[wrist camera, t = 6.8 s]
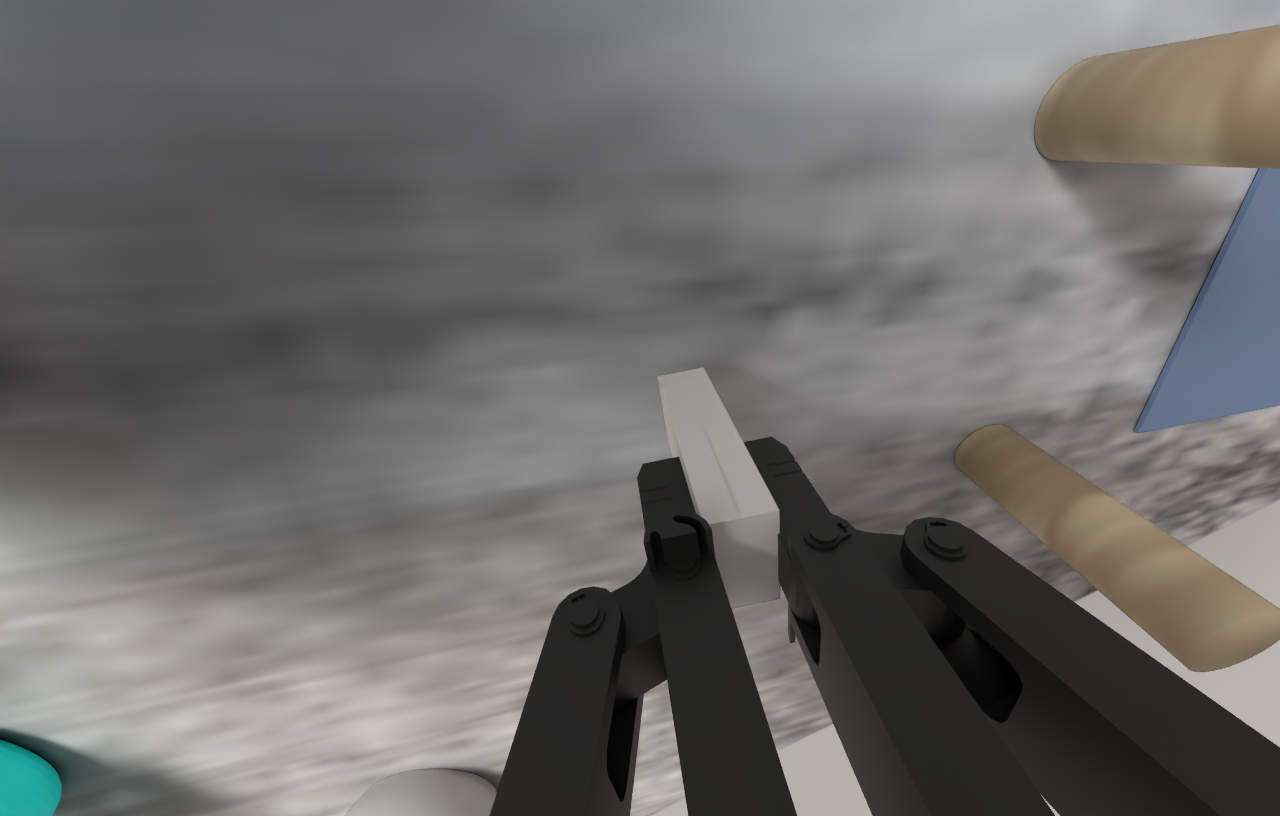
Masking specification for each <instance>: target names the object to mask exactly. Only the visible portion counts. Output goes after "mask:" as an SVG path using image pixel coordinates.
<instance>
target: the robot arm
mask: <svg viewBox="0 0 1280 816" xmlns="http://www.w3.org/2000/svg"><path fill="white" fill-rule="evenodd" d="M657 377H658V383H659V389H660V395H661V401H662V407H663V413H664V419H665V425H666V431H667V437H668V443H669V447H670V451H671V454H672V458H669V459H664V460H659V461H654V462H649V463H644V464H643V465H642V467H641V469H640V472H639V474H638V477H637V480H638V486H639V492H640V499H641V505H642V512H643V518H644V525H645V534H644V546H645V551H646V555H647V563H646V565H645V567H644V569H643V570H642V572H641V573H640V574H639V575H638V576H637V577H636V578H635V579H634V580H632V581H631V582H629V583H628V584H626V585H625V586H623V587H621V588H619V589H617V590H615V591H613V592H609V591H608V590H607V589H604V588H599V587H588V588H582V589H579V590H577V591H575V592H573V593H571V594H569V595H568V596H567V597H566V598H565V599H564V600H563V601H562V602H561V603H560V604H559V605H558V607H557V609H556V611H555V613H554V615H553V617H552V620H551V623H550V626H549V629H548V633H547V636H546V639H545V642H544V645H543V648H542V652H541V655H540V658H539V661H538V664H537V667H536V670H535V674H534V677H533V680H532V683H531V686H530V689H529V693H528V696H527V699H526V702H525V705H524V708H523V712H522V715H521V718H520V721H519V724H518V727H517V730H516V734H515V737H514V740H513V743H512V746H511V749H510V753H509V756H508V759H507V762H506V765H505V768H504V772H503V775H502V778H501V781H500V784H499V787H498V791H497V794H496V797H495V800H494V803H493V806H492V809H491V813H490V816H630V809H631V801H632V792H633V783H634V775H635V766H636V757H637V749H638V740H639V731H640V723H641V714H642V705H643V697H644V693H646V692H647V691H649V690H650V689H652V688H654V687H655V686H657V685H659V684H660V683H662V682H663V681H665V680H667V681H668V688H669V694H670V701H671V707H672V713H673V720H674V726H675V733H676V739H677V745H678V752H679V758H680V765H681V771H682V778H683V784H684V790H685V797H686V803H687V809H688V816H797V814H796V811H795V807H794V804H793V801H792V798H791V795H790V791H789V788H788V785H787V782H786V779H785V776H784V773H783V770H782V766H781V763H780V760H779V757H778V754H777V751H776V747H775V744H774V741H773V738H772V735H771V732H770V729H769V725H768V722H767V719H766V716H765V713H764V710H763V707H762V703H761V700H760V697H759V694H758V691H757V688H756V685H755V681H754V678H753V675H752V672H751V669H750V666H749V663H748V659H747V656H746V653H745V650H744V647H743V644H742V640H741V637H740V634H739V631H738V628H737V625H736V622H735V618H734V615H733V612H732V608H737V607H742V606H746V605H751V604H756V603H761V602H766V601H771V600H776V599H780V585H781V587H782V589H783V591H784V594H785V596H786V598H787V600H788V634H789V639H790V643H793V642H795V634H796V637H797V639H798V641H799V644H800V646H801V648H802V651H803V653H804V655H805V658H806V660H807V663H808V665H809V667H810V670H811V672H812V674H813V677H814V679H815V681H816V684H817V686H818V688H819V691H820V693H821V695H822V698H823V700H824V702H825V705H826V707H827V710H828V712H829V714H830V717H831V719H832V721H833V724H834V726H835V728H836V731H837V733H838V735H839V738H840V740H841V742H842V745H843V747H844V749H845V752H846V754H847V757H848V759H849V761H850V764H851V766H852V768H853V771H854V773H855V775H856V778H857V780H858V782H859V785H860V787H861V789H862V792H863V794H864V796H865V799H866V801H867V804H868V806H869V808H870V811H871V813H872V815H873V816H1055V815H1054V813H1053V812H1052V811H1051V809H1050V808H1049V806H1048V805H1047V803H1046V802H1045V800H1044V799H1043V797H1044V798H1045V799H1046V801H1047V802H1048V803H1049V804H1050V805H1051V806H1052V807H1053V808H1054V809H1055V810H1056V811H1057V812H1058V814H1060V816H1280V748H1279V747H1278V746H1277V745H1275V744H1274V743H1273V742H1271V741H1270V740H1268V739H1267V738H1266V737H1264V736H1263V735H1261V734H1260V733H1258V732H1257V731H1256V730H1254V729H1253V728H1251V727H1250V726H1248V725H1247V724H1246V723H1244V722H1243V721H1241V720H1240V719H1239V718H1237V717H1236V716H1234V715H1233V714H1232V713H1230V712H1229V711H1227V710H1226V709H1224V708H1223V707H1222V706H1220V705H1219V704H1217V703H1216V702H1215V701H1213V700H1212V699H1210V698H1209V697H1207V696H1206V695H1205V694H1203V693H1202V692H1200V691H1199V690H1197V689H1196V688H1195V687H1193V686H1192V685H1191V684H1189V683H1188V682H1186V681H1185V680H1183V679H1182V678H1181V677H1179V676H1178V675H1176V674H1175V673H1174V672H1172V671H1171V670H1169V669H1168V668H1166V667H1165V666H1163V665H1162V664H1161V663H1159V662H1158V661H1156V660H1155V659H1154V658H1152V657H1151V656H1149V655H1148V654H1147V653H1145V652H1144V651H1142V650H1141V649H1139V648H1138V647H1137V646H1135V645H1134V644H1132V643H1131V642H1130V641H1128V640H1127V639H1125V638H1124V637H1123V636H1121V635H1120V634H1118V633H1117V632H1115V631H1114V630H1113V629H1111V628H1110V627H1108V626H1107V625H1106V624H1104V623H1103V622H1101V621H1100V620H1098V619H1097V618H1096V617H1094V616H1093V615H1091V614H1090V613H1089V612H1087V611H1086V610H1084V609H1083V608H1081V607H1080V606H1079V605H1077V604H1076V603H1074V602H1073V601H1072V600H1070V599H1069V598H1067V597H1066V596H1065V595H1063V594H1062V593H1060V592H1059V591H1057V590H1056V589H1055V588H1053V587H1052V586H1050V585H1049V584H1048V583H1046V582H1045V581H1043V580H1042V579H1040V578H1039V577H1038V576H1036V575H1035V574H1033V573H1032V572H1031V571H1029V570H1028V569H1026V568H1025V567H1023V566H1022V565H1021V564H1019V563H1018V562H1016V561H1015V560H1014V559H1012V558H1011V557H1009V556H1008V555H1006V554H1005V553H1004V552H1002V551H1001V550H999V549H998V548H997V547H995V546H994V545H992V544H991V543H989V542H988V541H987V540H985V539H984V538H982V537H981V536H980V535H978V534H977V533H975V532H974V531H973V530H971V529H969V528H967V527H965V526H963V525H961V524H960V523H958V522H954V521H951V520H947V519H944V518H931V517H926V518H922V519H918V520H915V521H913V522H912V523H911V524H909V525H908V526H907V527H906V530H905V533H904V535H894V534H878V533H869V532H863V531H859V530H856V529H855V528H854V527H853V526H852V525H851V524H850V523H849V522H848V521H846V520H844V519H842V518H840V517H838V516H836V515H833V514H831V513H830V511H829V510H828V508H827V507H826V505H825V504H824V502H823V501H822V499H821V498H820V496H819V495H818V493H817V492H816V490H815V489H814V487H813V486H812V484H811V483H810V481H809V480H808V478H807V477H806V475H805V474H804V472H802V469H801V468H800V466H799V465H798V463H797V462H795V459H794V457H793V456H792V454H791V453H790V451H789V450H788V448H787V447H786V446H785V445H783V444H782V443H780V442H779V441H777V440H775V439H774V438H772V437H768V438H763V439H758V440H753V441H748V442H743V441H742V439H741V437H740V435H739V433H738V431H737V429H736V428H735V426H734V424H733V422H732V420H731V418H730V416H729V414H728V412H727V411H726V409H725V407H724V405H723V403H722V401H721V399H720V397H719V395H718V394H717V392H716V390H715V388H714V386H713V384H712V382H711V380H710V378H709V377H708V375H707V373H706V371H705V369H704V367H702V368H697V369H692V370H687V371H682V372H677V373H672V374H667V375H662V376H657ZM1040 794H1041V795H1042V796H1043V797H1042V796H1041V795H1040Z"/></svg>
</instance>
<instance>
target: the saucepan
mask: <svg viewBox="0 0 1280 816" xmlns="http://www.w3.org/2000/svg"><path fill="white" fill-rule="evenodd" d="M496 794H497V791H496V789H495V787H494V786H493V785H492V784H491V783H490V782H489V781H487V780H486V779H484V778H482V777H480V776H477V775H474V774H471V773H468V772H463V771H458V770H450V769H420V770H412V771H407V772H402V773H398V774H395V775H391V776H388V777H386V778H384V779H381V780H379V781H378V782H376V783H375V784H373V785H372V786H371V787H370V788H369V789H368V790H367V791H366V792H365V793H364V794H363V795H362V796H361V797H360V798H359V799H358V800H357V801H356V802H355V803H354V805H353V806H352V807H351V808H350V809H349V810H348V812H347V813H346V814H345V816H490V813H491V809H492V806H493V803H494V800H495V797H496Z"/></svg>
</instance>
